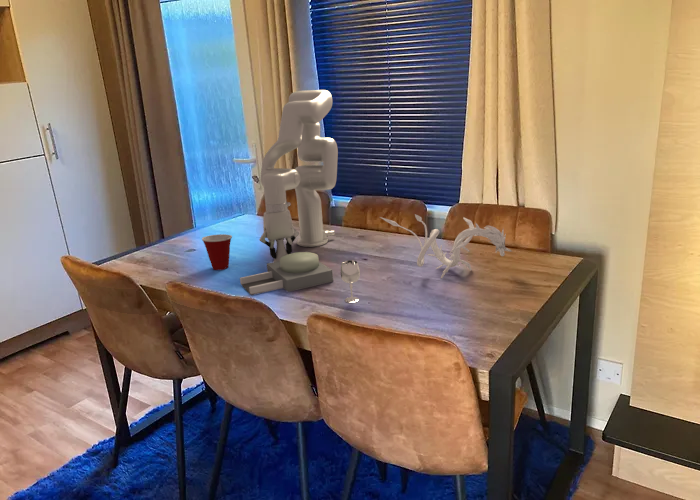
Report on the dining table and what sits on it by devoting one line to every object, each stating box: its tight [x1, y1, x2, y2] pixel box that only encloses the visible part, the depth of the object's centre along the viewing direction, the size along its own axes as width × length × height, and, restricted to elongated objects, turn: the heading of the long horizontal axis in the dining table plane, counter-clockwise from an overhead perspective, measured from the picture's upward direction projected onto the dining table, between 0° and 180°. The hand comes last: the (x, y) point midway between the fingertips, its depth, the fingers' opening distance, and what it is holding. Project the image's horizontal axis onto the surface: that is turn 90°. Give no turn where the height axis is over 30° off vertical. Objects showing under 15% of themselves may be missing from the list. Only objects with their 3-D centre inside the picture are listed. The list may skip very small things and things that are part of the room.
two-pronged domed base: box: [239, 251, 334, 296], centre depth 194 cm, size 27×20×7 cm
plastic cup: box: [201, 233, 233, 271], centre depth 211 cm, size 11×11×12 cm
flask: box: [273, 238, 288, 262], centre depth 210 cm, size 7×7×10 cm
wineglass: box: [340, 259, 361, 304], centre depth 174 cm, size 6×6×12 cm
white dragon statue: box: [379, 213, 512, 279], centre depth 188 cm, size 43×20×25 cm, turn 65°
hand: (281, 255), depth 211 cm, fingers closed on flask, 5 cm apart
